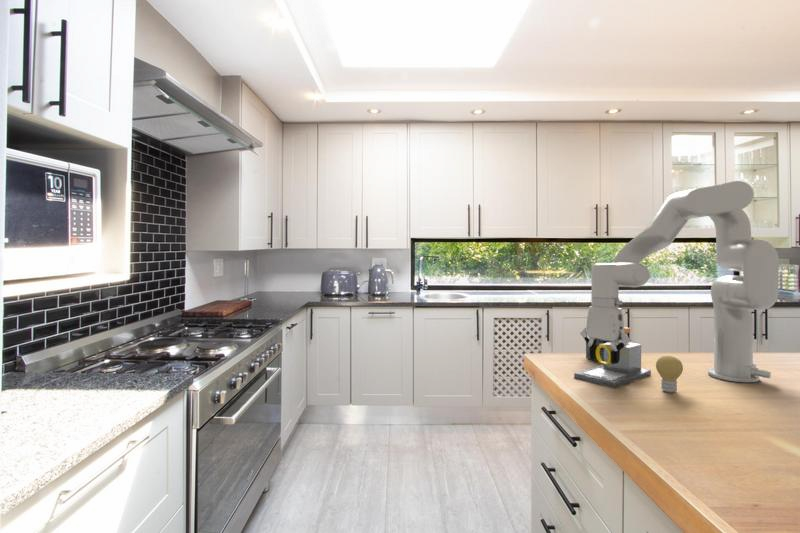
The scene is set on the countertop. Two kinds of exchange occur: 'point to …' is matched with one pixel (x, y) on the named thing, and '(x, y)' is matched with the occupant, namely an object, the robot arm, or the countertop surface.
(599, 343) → the small box
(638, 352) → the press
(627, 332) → the light orange ellipsoid
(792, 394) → the countertop surface
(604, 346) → the watch
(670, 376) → the light bulb
